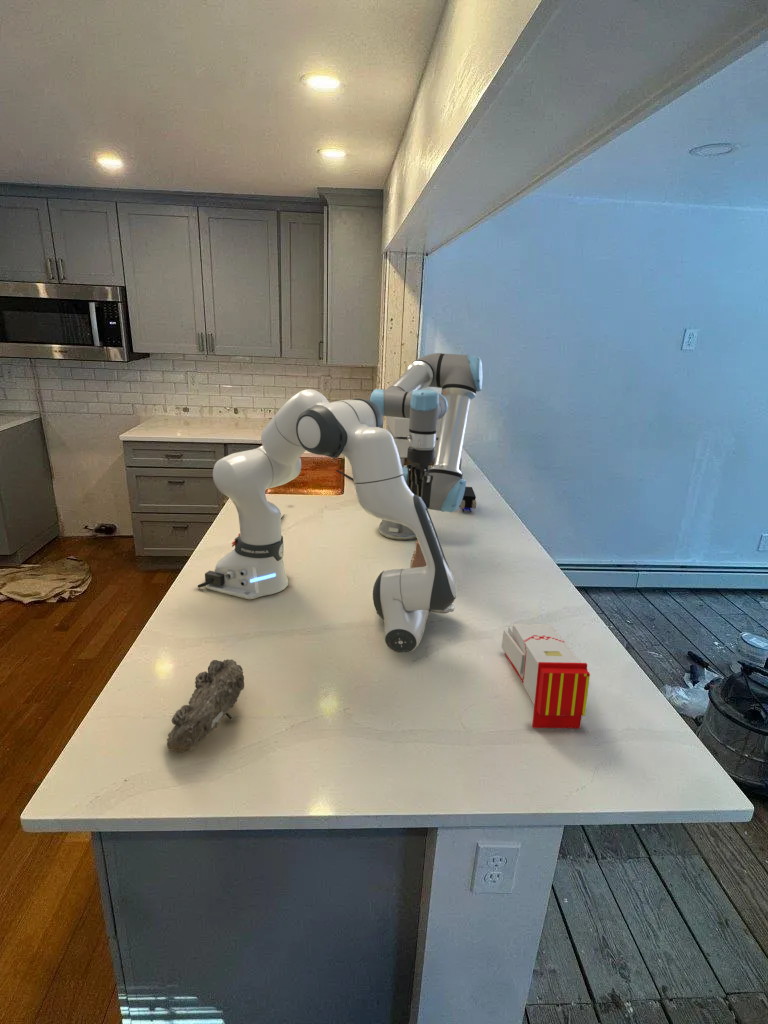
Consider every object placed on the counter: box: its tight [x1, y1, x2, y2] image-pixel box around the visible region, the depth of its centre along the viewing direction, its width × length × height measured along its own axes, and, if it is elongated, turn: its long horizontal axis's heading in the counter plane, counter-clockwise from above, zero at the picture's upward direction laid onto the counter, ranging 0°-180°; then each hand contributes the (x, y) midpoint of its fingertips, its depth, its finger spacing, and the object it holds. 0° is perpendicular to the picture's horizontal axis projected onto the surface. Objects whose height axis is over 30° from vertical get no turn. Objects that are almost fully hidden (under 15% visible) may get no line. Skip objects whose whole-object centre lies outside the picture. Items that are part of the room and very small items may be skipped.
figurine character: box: [459, 486, 477, 514], centre depth 227 cm, size 7×8×15 cm
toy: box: [501, 623, 591, 729], centre depth 120 cm, size 12×13×30 cm
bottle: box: [409, 539, 427, 568], centre depth 150 cm, size 5×5×18 cm
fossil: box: [166, 658, 245, 754], centre depth 106 cm, size 22×10×15 cm
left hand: (418, 582), depth 151 cm, fingers closed on bottle, 5 cm apart
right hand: (415, 526), depth 164 cm, fingers closed on cap, 4 cm apart
